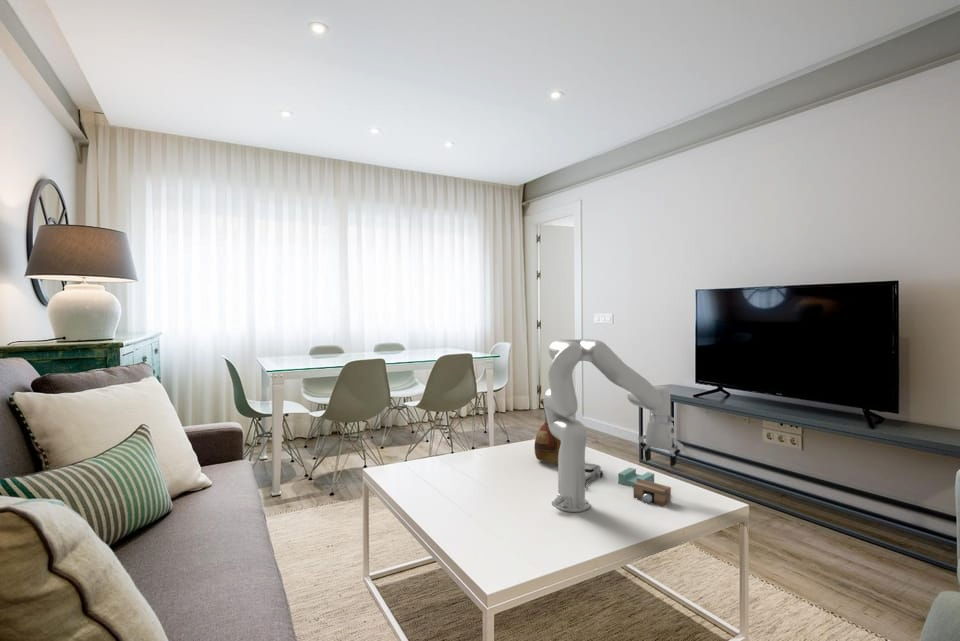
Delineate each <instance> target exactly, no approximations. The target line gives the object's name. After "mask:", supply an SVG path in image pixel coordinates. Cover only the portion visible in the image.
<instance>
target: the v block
mask: <svg viewBox="0 0 960 641" xmlns="http://www.w3.org/2000/svg"><path fill="white" fill-rule="evenodd" d="M617 477H618V478H617V480H618V481H617V482H618V484H620V483H621V484H620V485H623V484H625V486H627V485H629V486H628V487H631V486H632V487H631V488H634V483H635V482H637V481H639V480H645V481H649V482H653V483H655V473H654V472H650V471H647V472H645V473H644V474H639V473H637V469H636V468H634V467H627V468H626V469H624V470H622V471H620V472H618V473H617Z"/></svg>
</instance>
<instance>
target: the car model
mask: <svg viewBox="0 0 960 641" xmlns="http://www.w3.org/2000/svg"><path fill="white" fill-rule="evenodd" d="M601 468H602V467H601V465H599V464H596V463H585V489H586V488H587V486H588V485H589V484H591V483H593V482H594V481H597V480H601V479H602V478H603V477H604V472H603V470H602V469H601ZM587 484H588V485H587ZM586 485H587V486H586Z"/></svg>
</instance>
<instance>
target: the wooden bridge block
mask: <svg viewBox="0 0 960 641" xmlns="http://www.w3.org/2000/svg"><path fill="white" fill-rule="evenodd" d="M671 490H672V487H671V486H669V485H663V484H659V483H658V482H657V483H656V482H654V483H653V482H649V481H645V480H639V481H637V482H635V483H634V487H633V499H636V498H637V500H639V499H640V500H639V501H642V496H643V495H645V494H647V493H648V492H652V493H654V501H653V504H654V505H657V506H661V507H663V506H664V507H666V506H667V505H668V504H670V503H671V499H672V498H671V497H672V496H671V495H672V494H671V493H672V492H671ZM669 502H670V503H669ZM665 505H666V506H665Z"/></svg>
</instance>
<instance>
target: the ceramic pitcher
mask: <svg viewBox="0 0 960 641" xmlns="http://www.w3.org/2000/svg"><path fill="white" fill-rule="evenodd" d="M543 399H544V398H540V399H539V400H538V402H539V403H540V404H541V405H542V408H543V411H544V415H545V416H544V423H542V425H541V426H540V427H539V429H538V431H537V433H536V436H535V440H534V455H535V458H536V459H537V460H539V461H540V462H544V463H551V464H558V454H559V449H560V445H561V441H560V440H559V439H557V438H556V437H554V436H553V435H552V433H551V432H550V429H549V426H548V422H547V418H546V413H545V409H544V403H543Z"/></svg>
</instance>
